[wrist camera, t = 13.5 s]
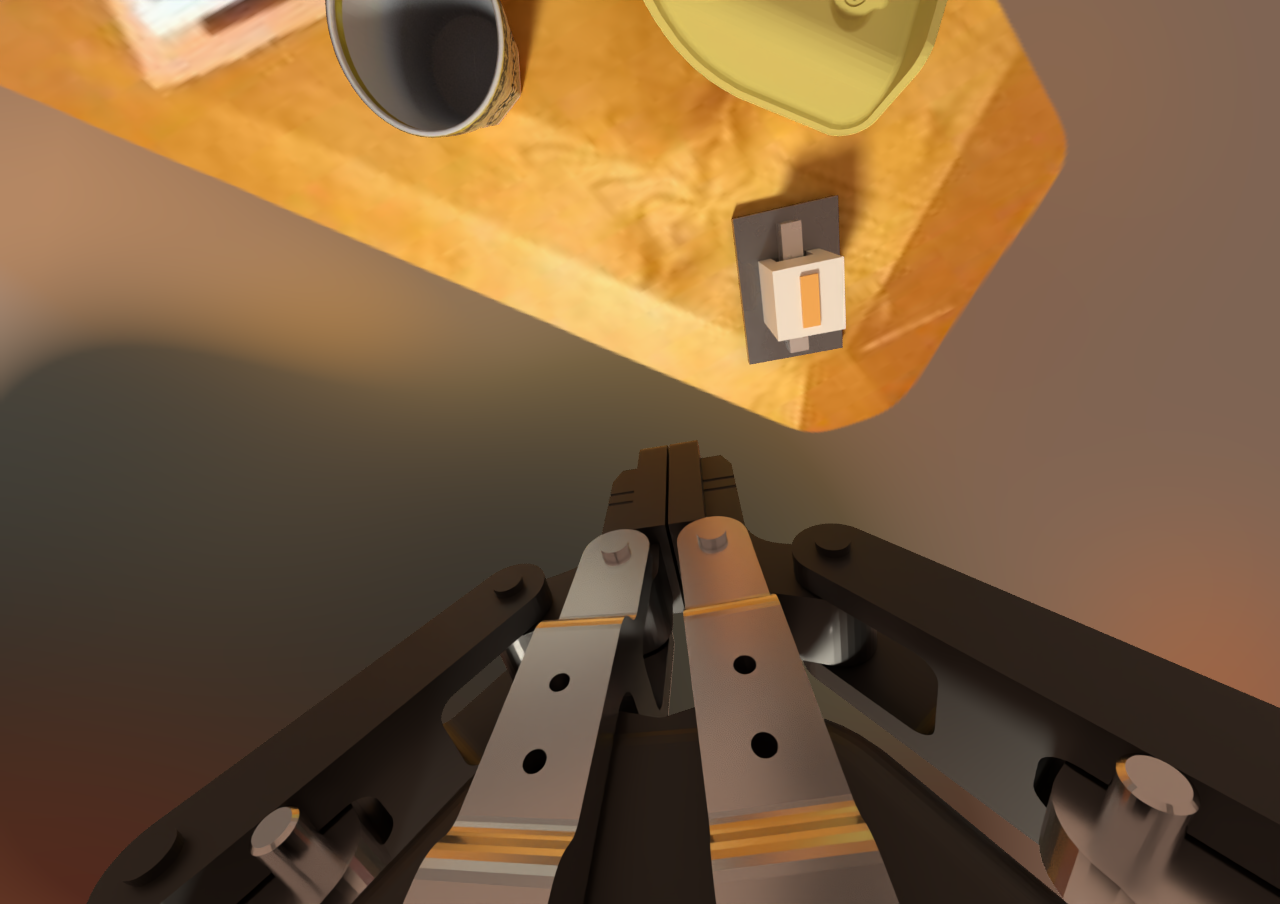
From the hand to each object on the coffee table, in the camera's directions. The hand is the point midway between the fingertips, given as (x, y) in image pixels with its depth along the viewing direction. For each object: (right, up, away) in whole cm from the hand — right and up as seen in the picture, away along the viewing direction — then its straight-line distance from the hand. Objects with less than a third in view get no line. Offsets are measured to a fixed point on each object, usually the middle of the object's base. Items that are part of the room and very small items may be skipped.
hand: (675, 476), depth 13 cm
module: (+12, +14, +28) cm, 33 cm away
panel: (+12, +15, +29) cm, 34 cm away
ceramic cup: (-13, +30, +23) cm, 40 cm away
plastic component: (+8, +32, +21) cm, 39 cm away
